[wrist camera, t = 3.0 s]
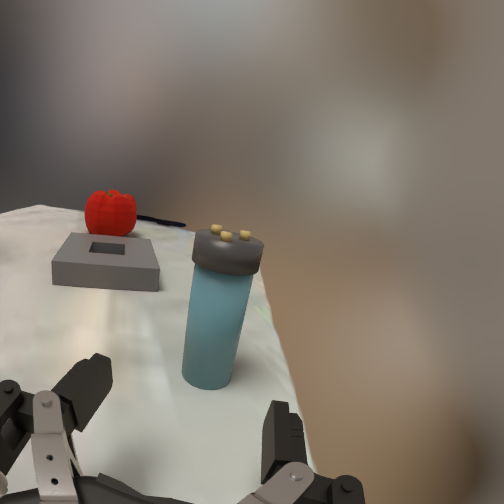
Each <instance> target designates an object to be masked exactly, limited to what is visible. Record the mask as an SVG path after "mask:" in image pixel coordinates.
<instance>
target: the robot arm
mask: <svg viewBox="0 0 504 504" xmlns="http://www.w3.org/2000/svg"><path fill="white" fill-rule="evenodd" d="M112 383H113V378H112V368H111V359H110V358H109V357H106V356H103V355H101V354H98V353H95V354H94V355H93V356H92V357H91V358H90V359H89V360H88V359H83V360H81V361H79V362H77V363H76V364H75V365H74V366H73V367H72V369H70V370H69V372H68V373H67V374H66V375H65V376H64V377H63V378H62V379H61V380H60V381H59V382H58V383H57V384H56V386H55V387H54V388H53V389H52V390H51V391H46V390H45V391H40V392H38V393H37V394H36V395H35V394H31V393H27V392H24V391H21V389H20V386H19V384H18V383H17V382H15V381H13V380H4V381H2V382H0V504H193V503H188V502H184V501H180V500H176V499H172V498H164V497H153V496H145V495H142V494H141V493H139V492H137V491H135V490H134V489H132V488H131V487H129V486H127V485H126V484H124V483H123V482H121V481H118V480H116V479H113V478H111V477H109V476H106V475H104V474H102V473H99V475H98V477H93V476H83V474H82V471H81V469H80V466H79V463H78V459H77V455H76V450H75V446H74V441H73V437H72V432H73V430H74V429H76V430H78V431H80V432H82V431H83V430H84V428H85V427H86V425H87V424H88V422H89V421H90V419H91V418H92V416H93V415H94V413H95V412H96V411H97V409H98V408H99V406H100V405H101V403H102V402H103V400H104V399H105V397H106V396H107V394H108V393H109V392H110V390H111V387H112ZM8 419H9V420H8ZM7 420H8V421H7ZM4 424H5V425H4ZM30 438H31V443H32V452H33V460H34V467H35V473H36V479H37V484H38V488H35V489H31V490H26V491H22V492H17V493H12V494H7V495H6V493H7V492H8V488H7V486H8V483H7V479H6V475H7V473H8V472H9V470H10V468H11V467H12V465H13V464H14V462H15V460H16V459H17V457H18V456H19V454H20V453H21V451H22V450H23V448H24V447H25V445H26V444H27V442H28V441H29V439H30ZM261 484H264V485H263V486H262V487H260V488H259V489H258V490H257V491H256V492H254V493H251V494H249V495H248V496H246V497H245V498H244V499H242V500H241V501H240V502H239V503H237V504H365V498H364V492H363V487H362V484H361V482H360V481H359V480H358V479H357V478H355V477H353V476H349V475H342V476H339V477H337V478H336V479H331V478H327V477H323V476H320V475H318V474H316V473H314V472H313V470H312V469H311V468H310V467H309V466H308V463H307V456H306V448H305V440H304V432H303V424H302V420H301V419H300V417H299V416H298V414H297V413H289V404H288V402H283V401H275V400H272V402H271V404H270V407H269V410H268V412H267V415H266V417H265V420H264V424H263V430H262V462H261Z"/></svg>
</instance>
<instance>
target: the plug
mask: <svg viewBox="0 0 504 504" xmlns="http://www.w3.org/2000/svg"><path fill="white" fill-rule="evenodd" d="M250 236H251V232H249V231H244V230H241V233H240V234H239V233H235V232H230V231H224V230H222V226H220V225H215V224H214V225H213V224H212V227H211V229H202V230H198V231H196V234H195V241H194V247H193V253H192V260H193V262H194V263H195V266H194V273H193V280H192V287H191V294H190V302H189V310H188V318H187V326H186V334H185V343H184V353H183V363H182V375H183V377H184V379H185V380H186V381H187V382H188V383H190V384H191V385H193V386H195V387H197V388H200V389H206V390H215V389H220V388H222V387H224V386H226V385H227V384H228V383H229V381H230V378H231V374H232V369H233V365H234V360H235V356H236V352H237V347H238V343H239V338H240V334H241V329H242V325H243V320H244V316H245V311H246V307H247V302H248V298H249V293H250V289H251V284H252V279H253V275H254V274H255V273H257V272H258V270H259V266H260V261H261V257H262V252H263V248H264V244H263V242H261V241H259V240H257V239H255V238H253V237H250Z"/></svg>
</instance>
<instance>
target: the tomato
mask: <svg viewBox="0 0 504 504" xmlns="http://www.w3.org/2000/svg"><path fill="white" fill-rule="evenodd" d="M136 218H137V216H136V203H135V200H134V198H133V196H131V195H129V194H125V195H122V194H120V193H119V192H118V191H116V190H110V191H108V192H104V191H96V192H94V193H93V194H92V195H91V196H90V197H89V199H88V201H87V203H86V207H85V222H86V226H87V228H88V230H89V231H90V232H91V233H92V234H96V235H108V236H119V237H121V236H124V235H126V234H128V233H129V232H131V231H132V230H133V228H134V226H135V224H136Z"/></svg>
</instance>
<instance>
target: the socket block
mask: <svg viewBox="0 0 504 504" xmlns="http://www.w3.org/2000/svg"><path fill="white" fill-rule="evenodd" d="M159 273H160V268H159V265H158V262H157V259H156V256H155V253H154V250H153V247H152V244H151V240H150V239H142V238H131V237H119V236H108V235H96V234H84V233H72V232H71V234H70V235H69V236H68V238H67V239H66V241H65V242H64V243H63V245H62V246H61V248H60V249H59V251H58V252H57V254H56V255H55V256H54V258H53V259H52V282H53V284H54V285H65V286H77V287H90V288H104V289H119V290H136V291H157V292H158V283H159Z"/></svg>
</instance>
